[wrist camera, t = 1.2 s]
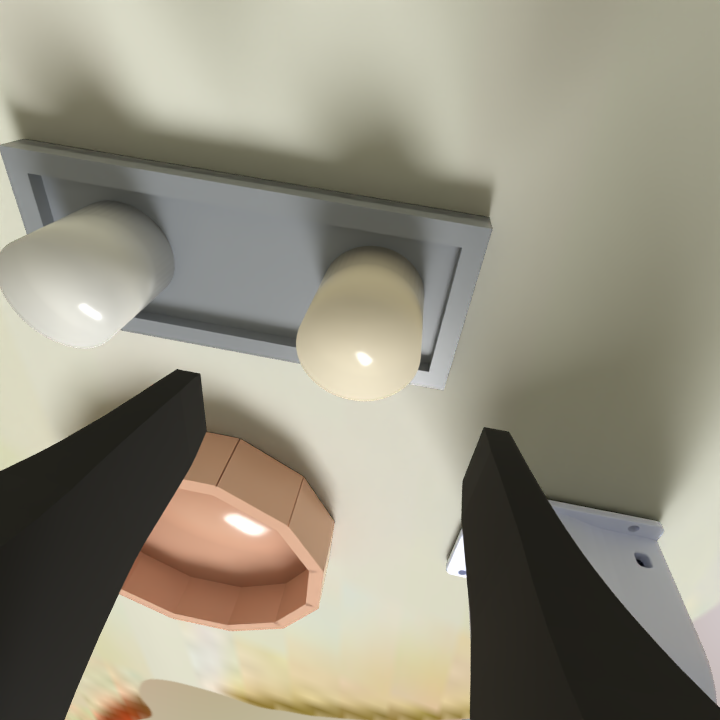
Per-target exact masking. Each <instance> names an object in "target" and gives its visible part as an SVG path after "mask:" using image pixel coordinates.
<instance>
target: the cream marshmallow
mask: <svg viewBox="0 0 720 720" xmlns="http://www.w3.org/2000/svg"><path fill="white" fill-rule="evenodd" d="M423 313H424V286H423V282H422V279H421V277H420V275H419V273H418V271H417V270H416V268H415V267H414V266H413V265H412V263H411V262H410V261H408V260H407V259H406V258H405V257H404V256H402V255H401V254H399V253H397V252H395V251H393V250H390V249H388V248H384V247H379V246H362V247H357V248H354V249H351V250H349V251H346V252H345V253H343V254H341V255H340V256H339V257H337V258H336V259H335V260H334V261H333V262H332V263H331V265H330V266H329V268H328V269H327V271H326V273H325V275H324V277H323V280H322V282H321V284H320V286H319V288H318V290H317V292H316V294H315V296H314V298H313V300H312V302H311V304H310V306H309V308H308V310H307V312H306V314H305V317H304V319H303V321H302V323H301V325H300V327H299V329H298V333H297V338H296V350H297V355H298V358H299V361H300V363H301V365H302V367H303V369H304V370H305V372H306V373H307V375H308V376H309V377H310V378H311V379H312V380H313V381H314V382H315V383H316V384H317V385H319V386H320V387H321V388H323V389H324V390H326V391H328V392H329V393H331V394H334V395H336V396H339V397H341V398H345V399H349V400H355V401H374V400H380V399H384V398H387V397H390V396H392V395H394V394H396V393H398V392H399V391H401V390H402V389H404V388H405V387H406V386H407V385H408V384H409V383H410V382H411V381H412V379H413V378H414V376H415V375H416V373H417V371H418V368H419V365H420V359H421V346H422V329H423Z"/></svg>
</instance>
